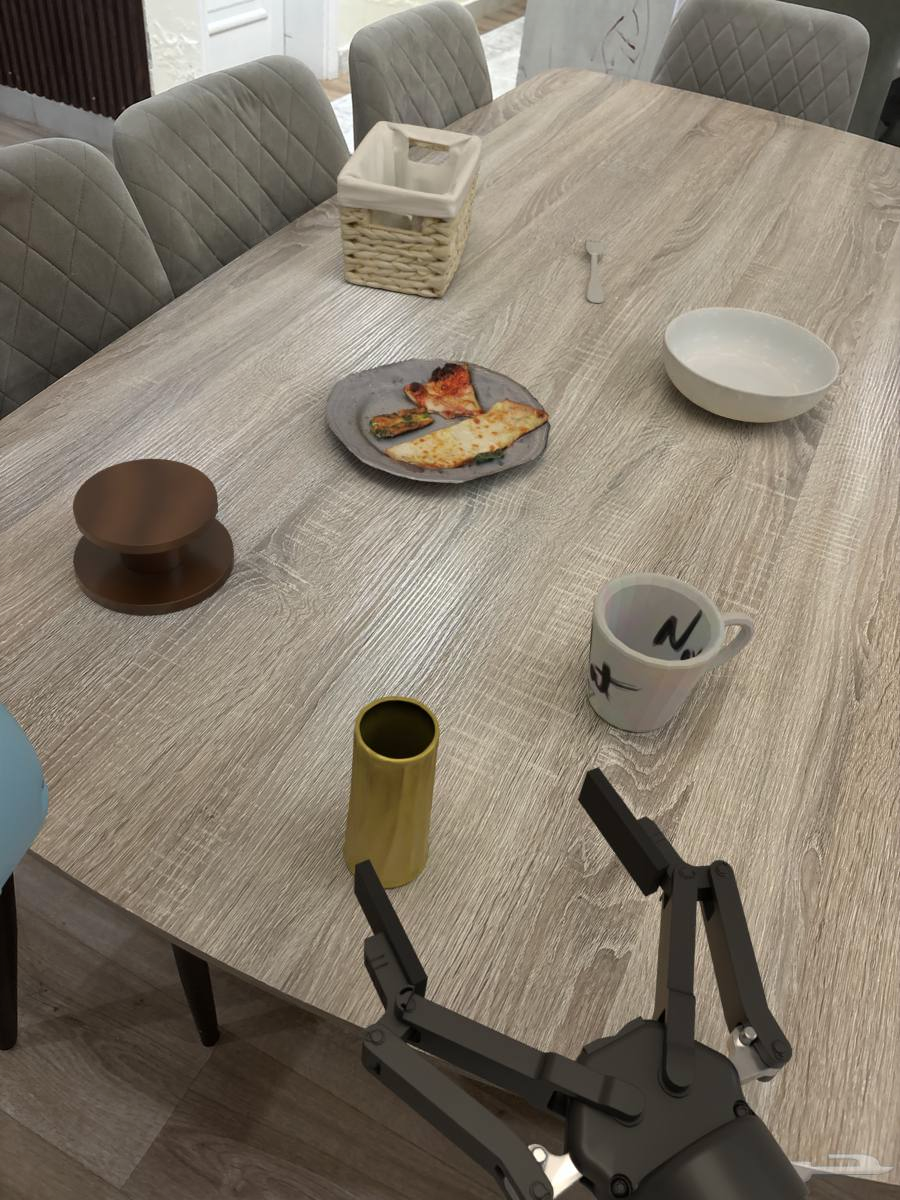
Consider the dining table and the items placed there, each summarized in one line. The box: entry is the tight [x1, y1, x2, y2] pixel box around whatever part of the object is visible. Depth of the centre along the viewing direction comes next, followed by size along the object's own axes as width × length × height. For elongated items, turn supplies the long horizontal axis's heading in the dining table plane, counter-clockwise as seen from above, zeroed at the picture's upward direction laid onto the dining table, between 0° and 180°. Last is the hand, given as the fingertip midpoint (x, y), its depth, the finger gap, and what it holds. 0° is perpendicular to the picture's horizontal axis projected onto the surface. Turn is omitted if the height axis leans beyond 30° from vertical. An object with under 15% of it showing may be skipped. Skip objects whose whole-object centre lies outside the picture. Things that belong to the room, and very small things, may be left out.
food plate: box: [323, 357, 552, 484], centre depth 104 cm, size 25×23×4 cm
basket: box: [336, 120, 484, 298], centre depth 131 cm, size 24×16×15 cm
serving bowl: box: [661, 306, 840, 423], centre depth 115 cm, size 21×21×7 cm
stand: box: [72, 458, 235, 616], centre depth 84 cm, size 14×14×7 cm
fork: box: [585, 239, 606, 304], centre depth 139 cm, size 3×21×3 cm, turn 175°
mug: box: [586, 571, 756, 733], centre depth 77 cm, size 10×15×10 cm
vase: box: [342, 695, 441, 889], centre depth 62 cm, size 6×6×14 cm
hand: (480, 826), depth 49 cm, fingers open, 13 cm apart
